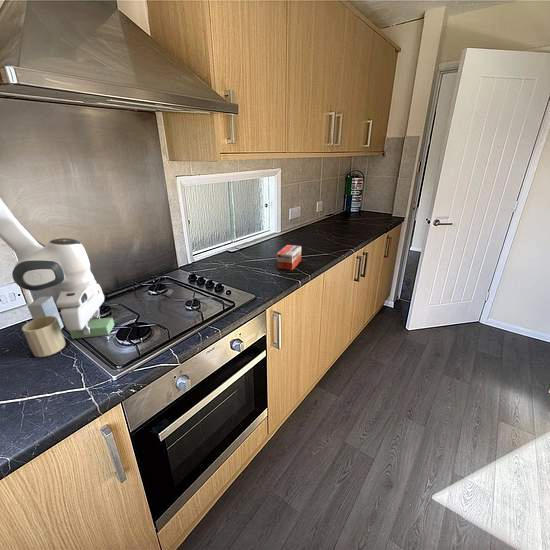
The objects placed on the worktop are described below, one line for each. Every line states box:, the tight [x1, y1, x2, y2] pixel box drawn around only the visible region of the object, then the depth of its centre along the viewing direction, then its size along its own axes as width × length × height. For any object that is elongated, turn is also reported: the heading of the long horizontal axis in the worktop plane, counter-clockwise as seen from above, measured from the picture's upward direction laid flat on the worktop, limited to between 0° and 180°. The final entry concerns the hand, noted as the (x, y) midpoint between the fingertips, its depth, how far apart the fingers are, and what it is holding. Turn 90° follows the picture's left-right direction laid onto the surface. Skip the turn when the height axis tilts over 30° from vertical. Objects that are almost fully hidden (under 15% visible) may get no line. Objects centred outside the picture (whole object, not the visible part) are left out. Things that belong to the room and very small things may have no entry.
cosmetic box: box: [27, 296, 65, 330], centre depth 95 cm, size 6×4×12 cm
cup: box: [21, 316, 67, 358], centre depth 88 cm, size 8×8×9 cm
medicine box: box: [276, 244, 302, 271], centre depth 147 cm, size 15×8×8 cm, turn 158°
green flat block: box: [68, 317, 115, 340], centre depth 97 cm, size 11×6×3 cm, turn 100°
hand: (92, 327), depth 96 cm, fingers closed on green flat block, 6 cm apart
